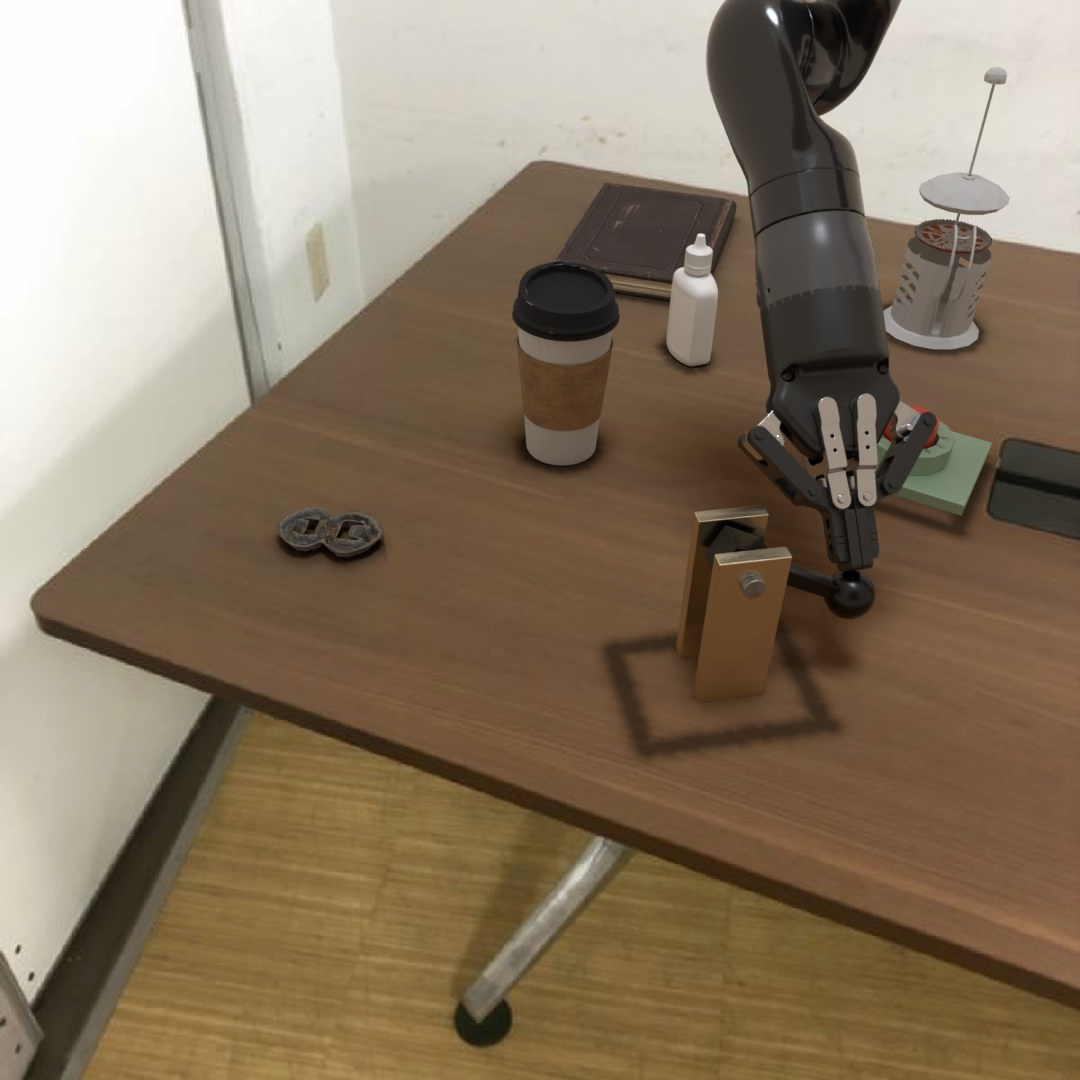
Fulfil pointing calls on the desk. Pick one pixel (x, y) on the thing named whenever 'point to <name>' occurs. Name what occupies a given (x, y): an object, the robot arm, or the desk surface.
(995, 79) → the french press
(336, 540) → the corroded twin loop
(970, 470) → the control block
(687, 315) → the eye dropper bottle
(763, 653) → the wooden lever mount
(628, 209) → the hardcover book
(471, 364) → the desk surface
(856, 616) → the black lever handle
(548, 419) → the coffee cup
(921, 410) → the button
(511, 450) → the desk surface
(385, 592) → the desk surface
